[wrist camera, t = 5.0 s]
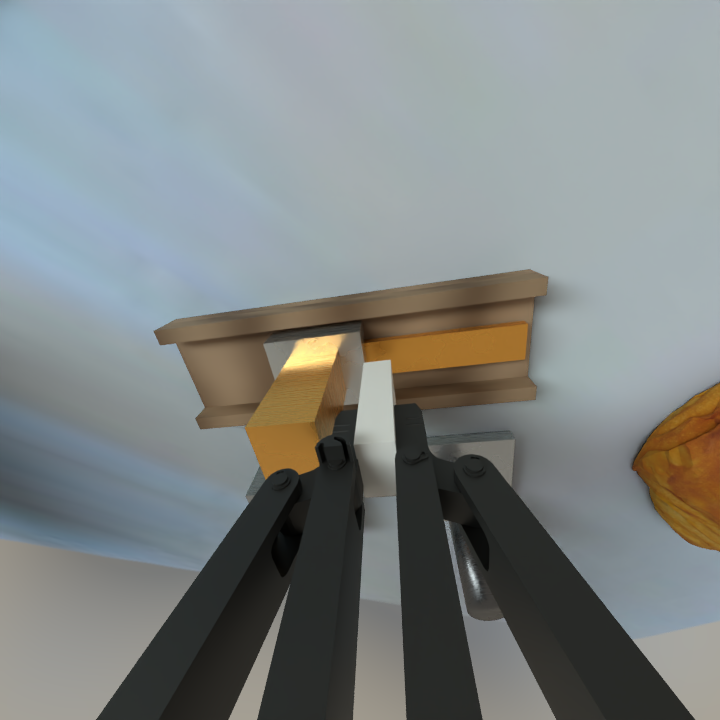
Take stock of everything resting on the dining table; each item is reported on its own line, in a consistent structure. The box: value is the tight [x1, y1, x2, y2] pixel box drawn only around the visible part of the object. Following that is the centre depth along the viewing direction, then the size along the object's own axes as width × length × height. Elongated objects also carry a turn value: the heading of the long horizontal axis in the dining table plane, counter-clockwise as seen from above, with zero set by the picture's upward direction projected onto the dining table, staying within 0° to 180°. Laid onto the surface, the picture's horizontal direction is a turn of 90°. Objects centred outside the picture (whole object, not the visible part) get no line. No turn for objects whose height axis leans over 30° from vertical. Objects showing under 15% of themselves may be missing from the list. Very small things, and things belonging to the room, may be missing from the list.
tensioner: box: [245, 321, 528, 480], centre depth 17 cm, size 16×5×9 cm, turn 99°
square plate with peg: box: [427, 431, 515, 621], centre depth 22 cm, size 9×9×10 cm
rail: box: [154, 269, 548, 429], centre depth 21 cm, size 24×8×2 cm, turn 99°
